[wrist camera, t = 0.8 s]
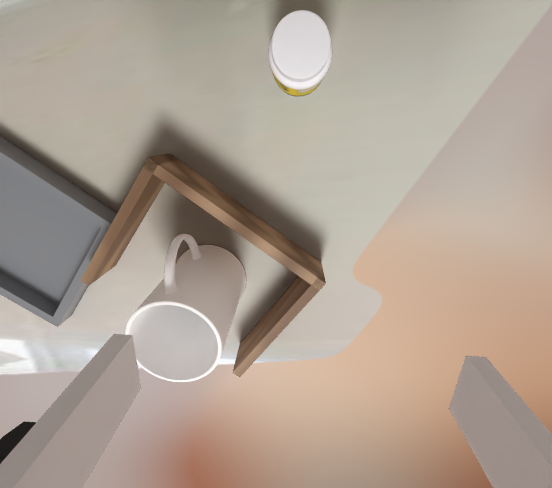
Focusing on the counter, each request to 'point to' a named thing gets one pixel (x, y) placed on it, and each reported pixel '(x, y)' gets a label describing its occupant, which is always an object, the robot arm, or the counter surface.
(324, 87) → the counter surface
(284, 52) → the supplement bottle
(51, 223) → the tray
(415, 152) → the counter surface
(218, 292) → the mug
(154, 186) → the bay
